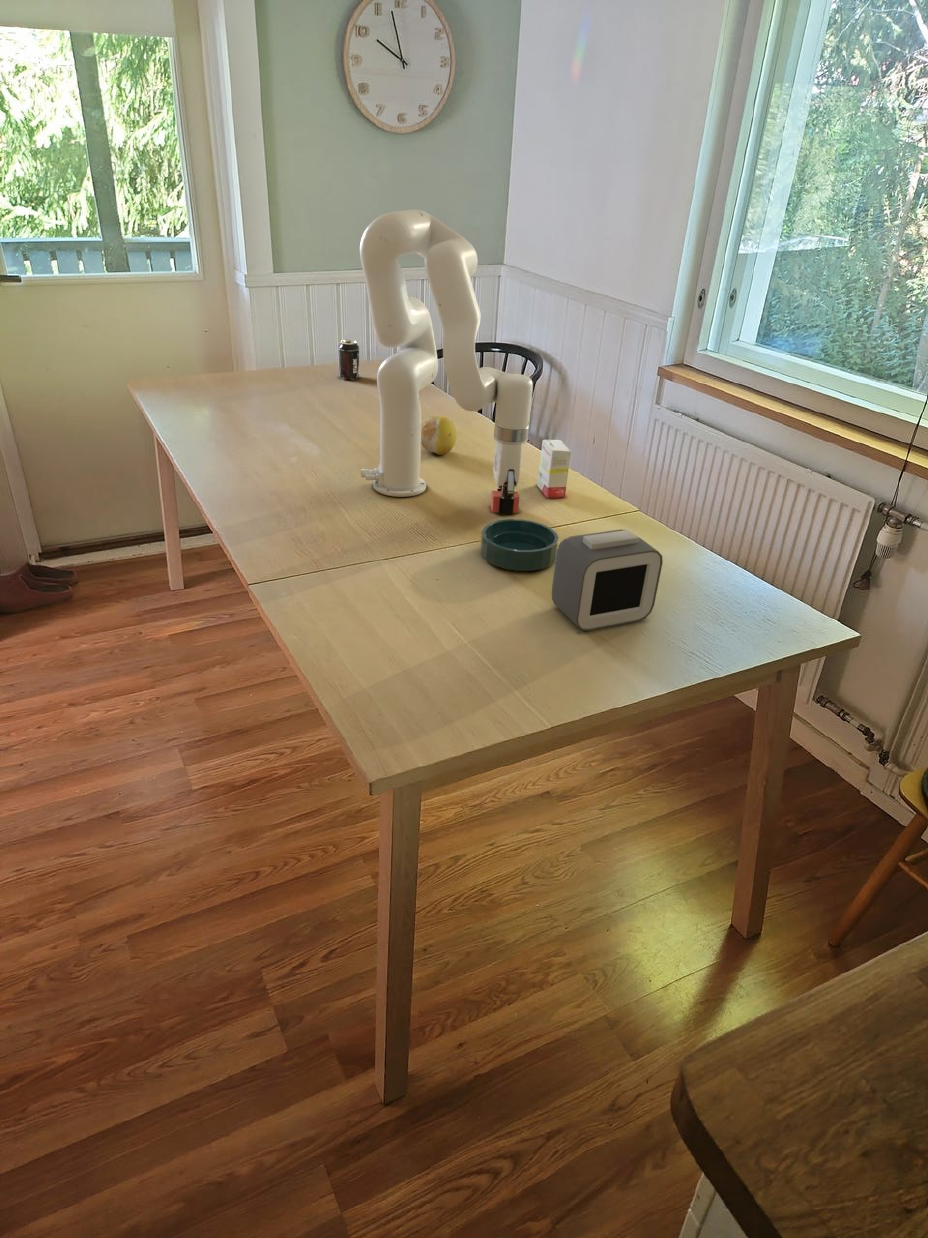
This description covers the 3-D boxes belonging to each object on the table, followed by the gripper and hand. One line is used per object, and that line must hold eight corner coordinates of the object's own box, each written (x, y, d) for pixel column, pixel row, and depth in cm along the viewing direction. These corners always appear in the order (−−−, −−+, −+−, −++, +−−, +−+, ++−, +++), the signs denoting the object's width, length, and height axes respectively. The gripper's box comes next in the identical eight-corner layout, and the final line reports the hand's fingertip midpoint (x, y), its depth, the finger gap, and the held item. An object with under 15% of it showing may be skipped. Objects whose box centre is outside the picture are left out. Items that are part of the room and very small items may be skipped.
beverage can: (336, 379, 280) (335, 342, 274) (342, 374, 286) (341, 338, 279) (356, 381, 279) (355, 344, 273) (361, 376, 285) (361, 340, 279)
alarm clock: (574, 633, 148) (586, 554, 140) (544, 603, 157) (553, 527, 149) (651, 619, 154) (666, 542, 146) (618, 590, 163) (630, 516, 155)
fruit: (436, 443, 230) (438, 407, 225) (463, 454, 224) (466, 418, 219) (408, 451, 224) (409, 414, 219) (435, 462, 218) (437, 425, 213)
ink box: (566, 497, 202) (572, 450, 196) (546, 498, 201) (552, 451, 195) (555, 484, 209) (561, 438, 203) (536, 485, 208) (541, 438, 202)
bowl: (484, 573, 166) (485, 551, 163) (477, 539, 179) (478, 518, 177) (561, 575, 167) (564, 552, 165) (548, 541, 181) (551, 519, 178)
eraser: (492, 512, 192) (493, 496, 190) (490, 506, 195) (491, 490, 193) (518, 513, 193) (519, 497, 191) (516, 507, 195) (517, 491, 193)
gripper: (490, 420, 191) (484, 494, 201) (498, 444, 177) (492, 524, 186) (522, 421, 192) (515, 495, 201) (533, 446, 177) (525, 525, 187)
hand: (504, 508), depth 194 cm, fingers open, 4 cm apart
